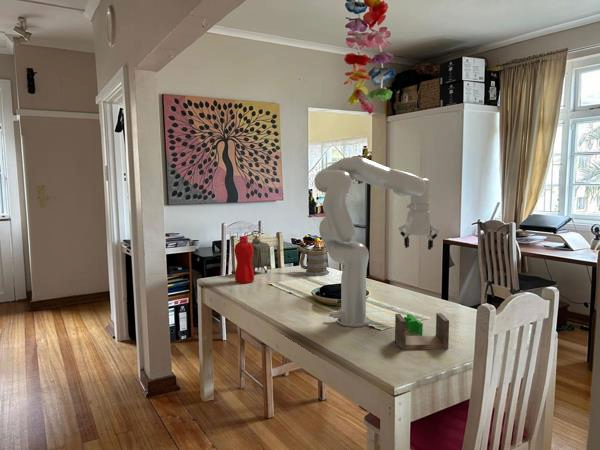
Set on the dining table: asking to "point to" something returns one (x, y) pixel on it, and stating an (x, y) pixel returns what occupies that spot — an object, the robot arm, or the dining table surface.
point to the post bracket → (422, 341)
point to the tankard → (314, 261)
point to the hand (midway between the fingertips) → (418, 248)
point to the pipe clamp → (413, 325)
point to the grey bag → (260, 253)
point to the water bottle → (244, 261)
